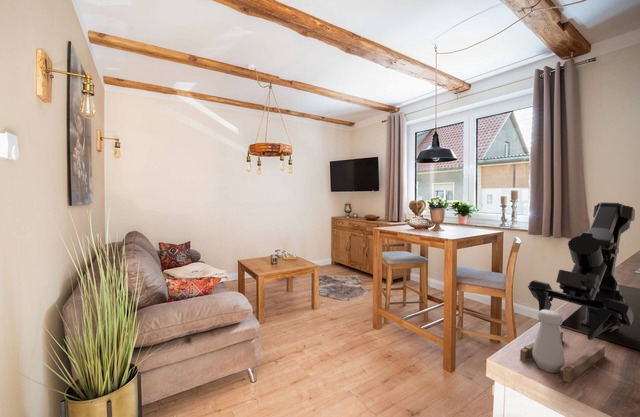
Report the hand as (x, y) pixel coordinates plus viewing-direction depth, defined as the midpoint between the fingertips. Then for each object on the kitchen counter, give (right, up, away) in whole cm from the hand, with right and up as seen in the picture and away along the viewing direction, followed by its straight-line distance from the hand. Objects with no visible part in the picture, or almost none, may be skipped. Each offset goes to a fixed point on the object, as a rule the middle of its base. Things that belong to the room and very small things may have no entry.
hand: (563, 329), depth 67 cm
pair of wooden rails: (0, -7, +1) cm, 7 cm away
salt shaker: (-6, -7, -3) cm, 10 cm away
